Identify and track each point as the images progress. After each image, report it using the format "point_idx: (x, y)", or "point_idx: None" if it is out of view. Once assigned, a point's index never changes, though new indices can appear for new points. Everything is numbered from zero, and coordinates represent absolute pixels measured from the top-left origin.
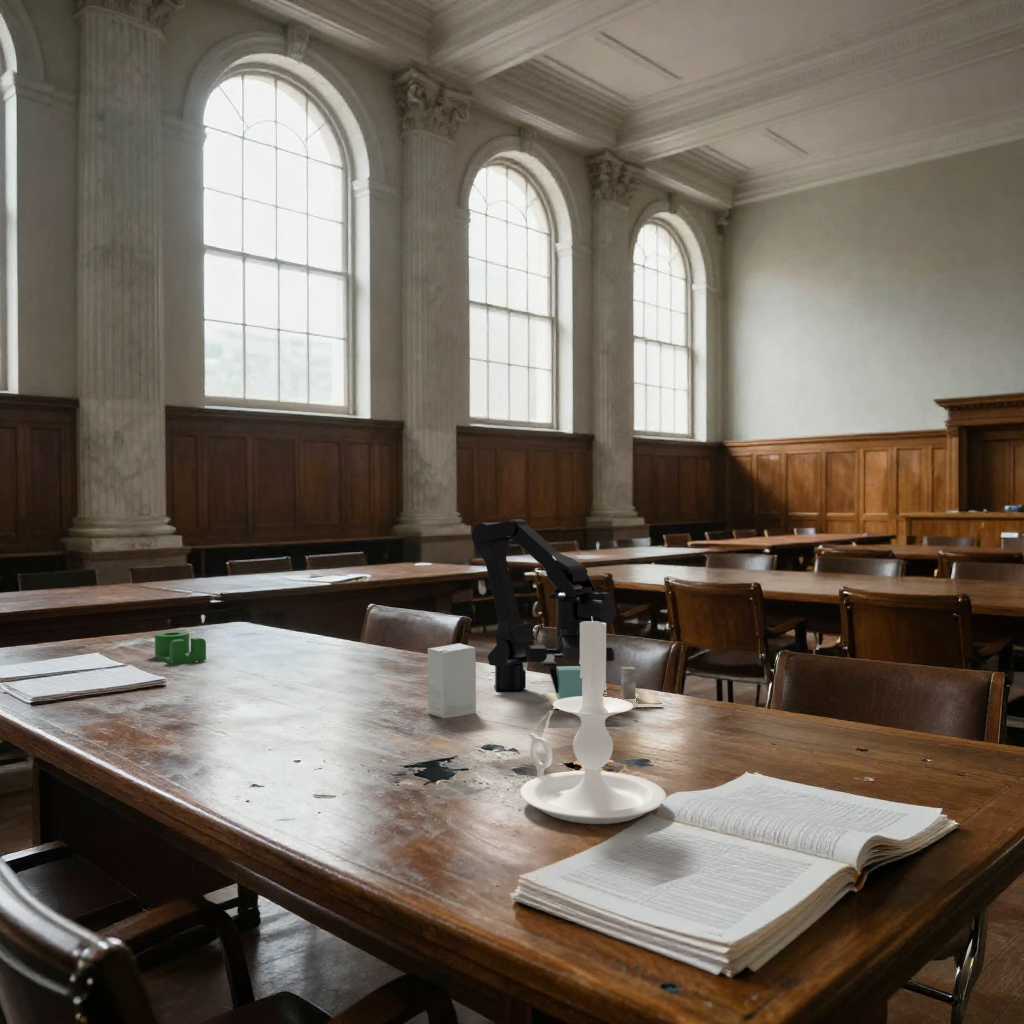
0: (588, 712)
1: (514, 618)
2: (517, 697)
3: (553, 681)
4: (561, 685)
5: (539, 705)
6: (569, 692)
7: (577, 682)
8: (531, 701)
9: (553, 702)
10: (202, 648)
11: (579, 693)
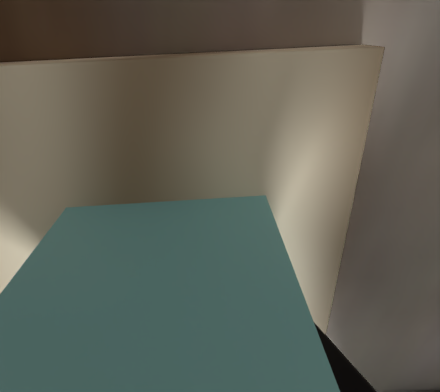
0: None
1: None
2: (429, 355)
3: (366, 383)
4: (278, 300)
5: (388, 204)
6: (177, 247)
7: (46, 348)
8: (396, 292)
9: (323, 162)
10: None
11: (76, 245)
